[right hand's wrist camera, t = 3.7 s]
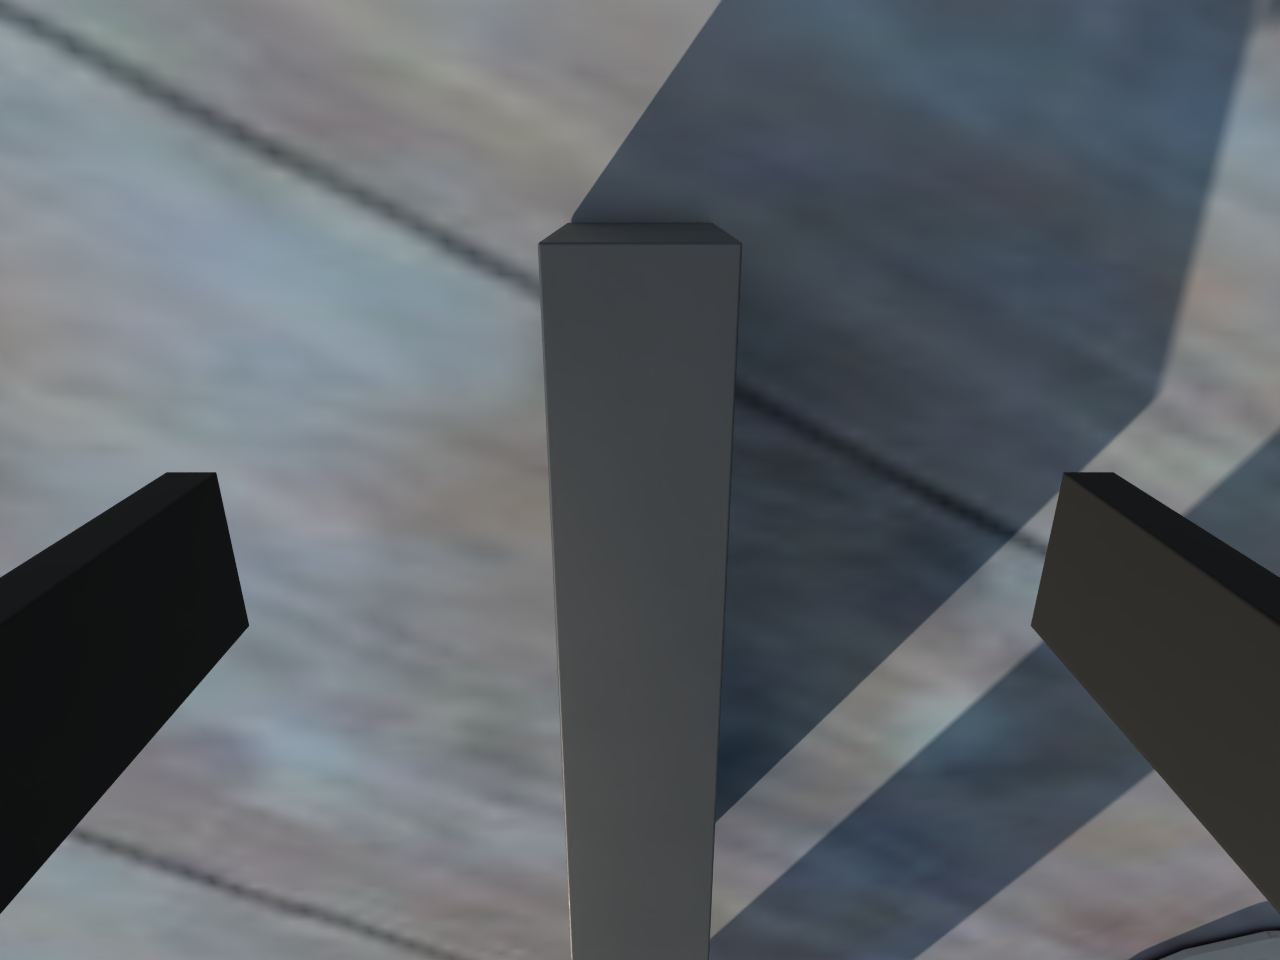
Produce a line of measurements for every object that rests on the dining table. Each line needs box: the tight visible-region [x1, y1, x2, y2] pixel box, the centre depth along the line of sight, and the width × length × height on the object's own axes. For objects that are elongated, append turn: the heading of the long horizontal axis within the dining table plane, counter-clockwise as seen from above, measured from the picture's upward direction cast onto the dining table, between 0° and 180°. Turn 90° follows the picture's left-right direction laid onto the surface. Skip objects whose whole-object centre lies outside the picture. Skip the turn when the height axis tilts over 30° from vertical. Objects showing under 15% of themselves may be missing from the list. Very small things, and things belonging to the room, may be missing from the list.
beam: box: [538, 223, 742, 960], centre depth 28 cm, size 28×5×8 cm, turn 0°
